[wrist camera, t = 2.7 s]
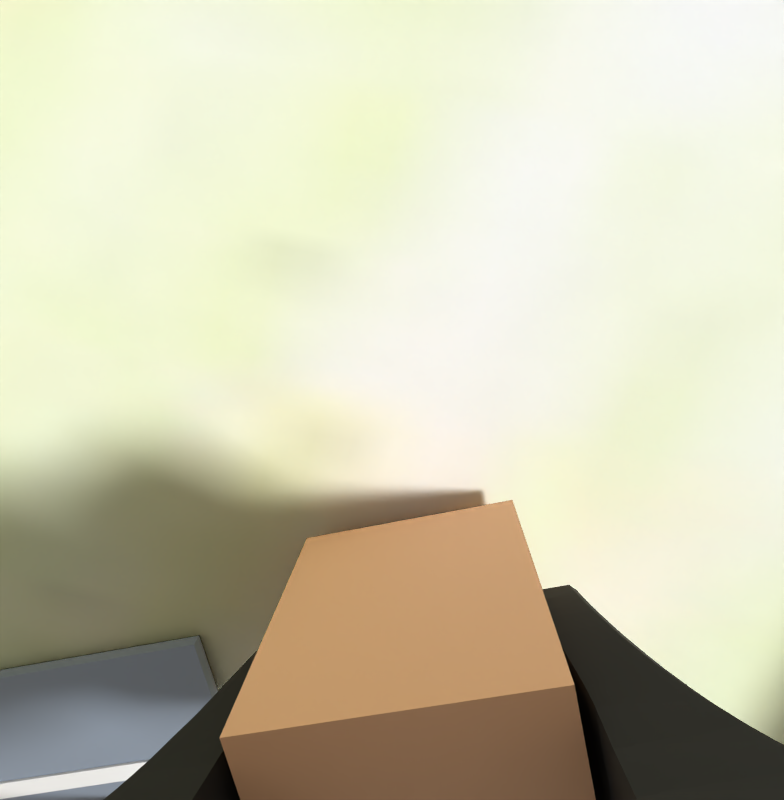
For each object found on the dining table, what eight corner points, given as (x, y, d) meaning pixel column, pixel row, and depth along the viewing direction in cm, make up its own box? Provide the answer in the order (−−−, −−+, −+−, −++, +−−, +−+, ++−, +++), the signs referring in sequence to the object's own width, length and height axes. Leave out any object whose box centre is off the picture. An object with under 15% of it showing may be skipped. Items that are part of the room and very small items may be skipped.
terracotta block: (548, 682, 12) (626, 969, 7) (354, 711, 13) (307, 1000, 8) (512, 499, 11) (574, 684, 6) (306, 538, 12) (218, 739, 7)
